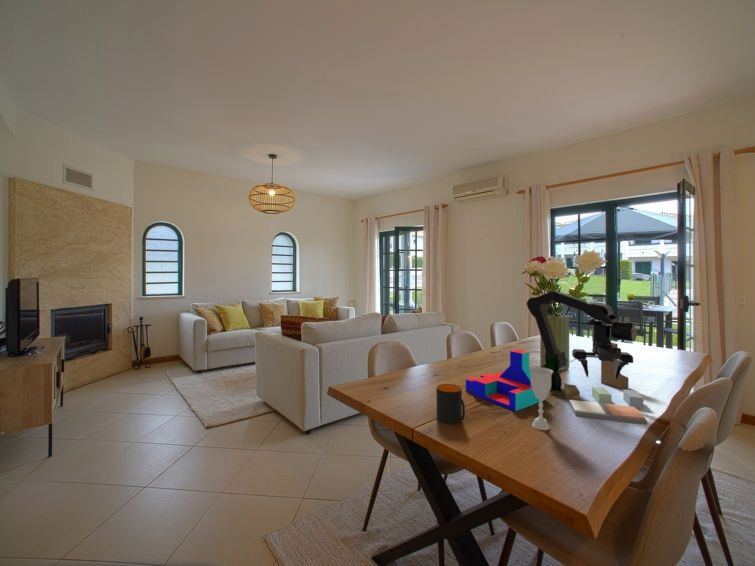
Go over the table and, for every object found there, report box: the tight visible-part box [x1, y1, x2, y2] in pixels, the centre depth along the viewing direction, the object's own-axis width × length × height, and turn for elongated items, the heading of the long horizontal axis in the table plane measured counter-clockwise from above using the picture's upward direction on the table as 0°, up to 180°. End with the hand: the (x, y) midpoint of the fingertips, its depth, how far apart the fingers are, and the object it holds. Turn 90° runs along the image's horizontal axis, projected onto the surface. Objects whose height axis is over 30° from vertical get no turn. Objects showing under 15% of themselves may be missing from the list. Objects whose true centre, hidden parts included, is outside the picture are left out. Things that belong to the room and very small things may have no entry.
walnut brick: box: [563, 383, 581, 401], centre depth 131 cm, size 4×8×4 cm, turn 159°
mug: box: [436, 383, 466, 425], centre depth 111 cm, size 8×12×10 cm
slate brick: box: [622, 389, 644, 410], centre depth 124 cm, size 4×8×4 cm, turn 157°
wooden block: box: [600, 342, 629, 390], centre depth 145 cm, size 9×4×18 cm, turn 23°
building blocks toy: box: [465, 349, 546, 412], centre depth 134 cm, size 19×25×18 cm
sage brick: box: [591, 386, 613, 404], centre depth 128 cm, size 4×8×4 cm, turn 163°
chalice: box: [529, 366, 553, 431], centre depth 106 cm, size 7×7×18 cm
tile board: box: [568, 400, 648, 425], centre depth 116 cm, size 20×12×2 cm, turn 69°
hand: (601, 378), depth 128 cm, fingers open, 9 cm apart
